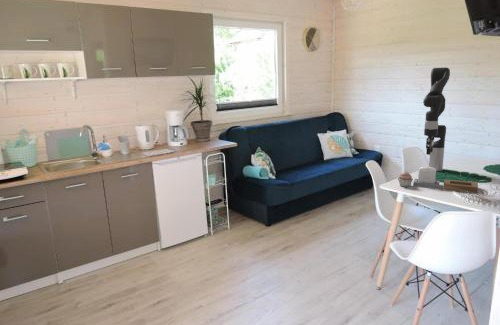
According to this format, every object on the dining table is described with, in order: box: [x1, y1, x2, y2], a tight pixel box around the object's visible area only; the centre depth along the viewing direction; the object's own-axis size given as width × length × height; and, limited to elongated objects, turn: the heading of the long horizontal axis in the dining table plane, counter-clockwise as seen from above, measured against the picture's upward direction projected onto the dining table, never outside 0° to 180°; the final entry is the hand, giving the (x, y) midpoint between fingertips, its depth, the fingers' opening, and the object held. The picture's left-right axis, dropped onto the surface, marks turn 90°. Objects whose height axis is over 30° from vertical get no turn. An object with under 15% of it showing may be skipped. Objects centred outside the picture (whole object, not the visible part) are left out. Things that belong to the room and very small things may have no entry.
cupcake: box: [397, 170, 414, 188], centre depth 232 cm, size 9×9×10 cm
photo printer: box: [417, 166, 437, 183], centre depth 231 cm, size 10×4×12 cm, turn 67°
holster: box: [412, 178, 441, 189], centre depth 232 cm, size 8×14×2 cm, turn 59°
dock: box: [442, 179, 479, 194], centre depth 222 cm, size 11×18×4 cm, turn 59°
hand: (429, 153), depth 228 cm, fingers open, 8 cm apart
